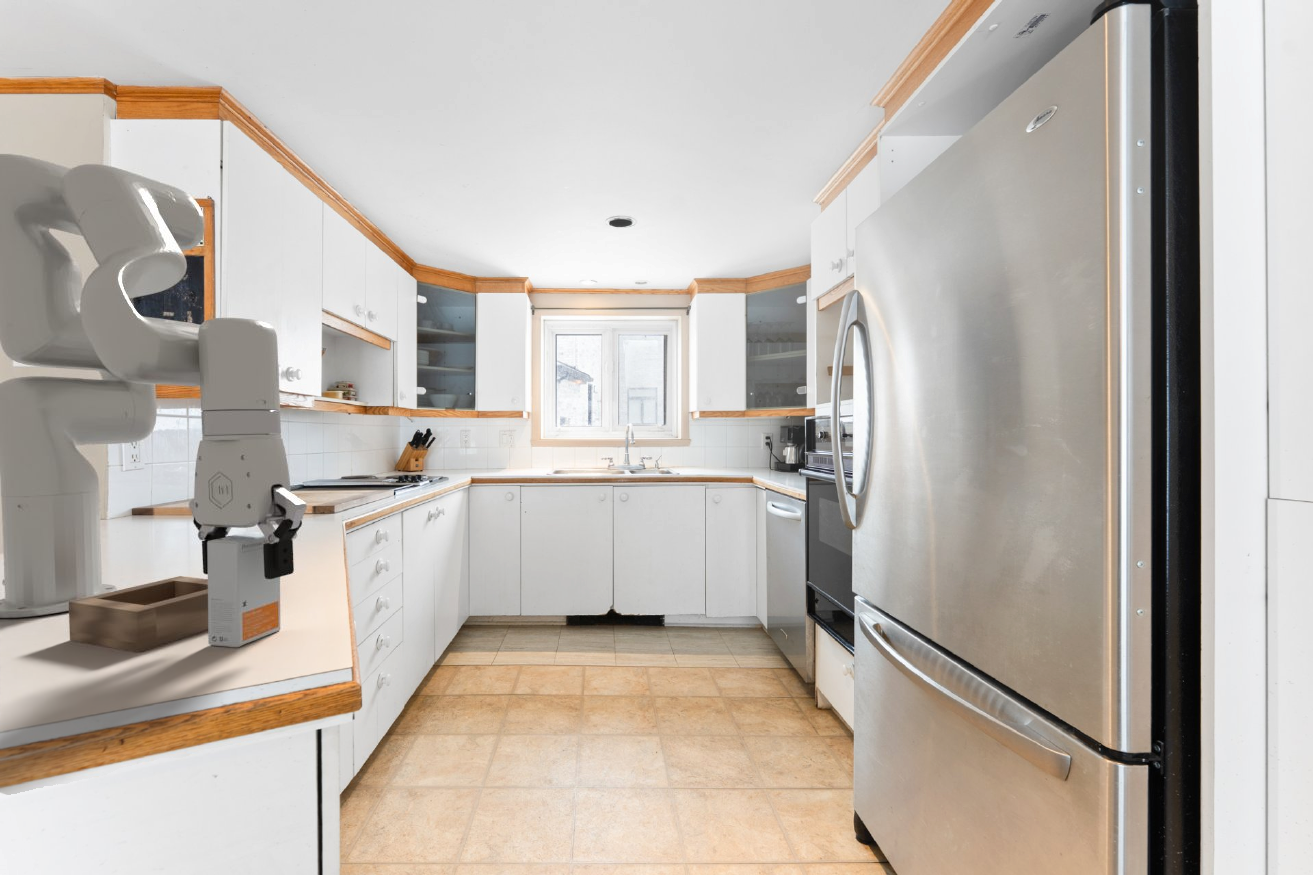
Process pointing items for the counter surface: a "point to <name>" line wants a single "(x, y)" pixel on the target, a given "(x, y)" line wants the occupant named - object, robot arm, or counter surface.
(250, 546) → the skincare box
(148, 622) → the wooden tray
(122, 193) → the robot arm
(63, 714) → the counter surface
